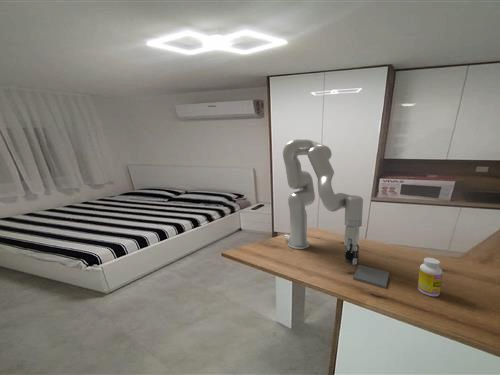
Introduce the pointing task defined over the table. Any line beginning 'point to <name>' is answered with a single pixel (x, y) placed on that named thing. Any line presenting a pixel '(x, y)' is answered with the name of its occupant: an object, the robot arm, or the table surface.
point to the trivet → (371, 276)
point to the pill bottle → (355, 255)
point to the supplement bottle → (430, 277)
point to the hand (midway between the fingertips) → (351, 255)
